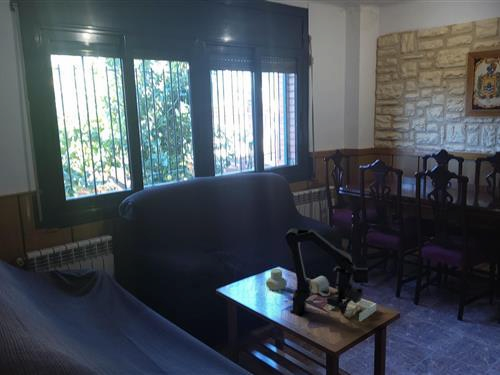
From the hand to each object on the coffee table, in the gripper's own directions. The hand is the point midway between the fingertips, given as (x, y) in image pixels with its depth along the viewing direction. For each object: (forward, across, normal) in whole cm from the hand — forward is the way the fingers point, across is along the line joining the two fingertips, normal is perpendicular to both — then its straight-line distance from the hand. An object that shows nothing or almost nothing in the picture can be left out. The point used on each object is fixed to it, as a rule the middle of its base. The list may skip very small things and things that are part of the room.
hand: (342, 314), depth 193 cm
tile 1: (+1, +4, 0) cm, 4 cm away
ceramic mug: (+2, +15, +22) cm, 27 cm away
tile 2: (+1, +9, 0) cm, 9 cm away
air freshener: (+2, +3, +42) cm, 42 cm away
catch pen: (+1, +8, 0) cm, 8 cm away
